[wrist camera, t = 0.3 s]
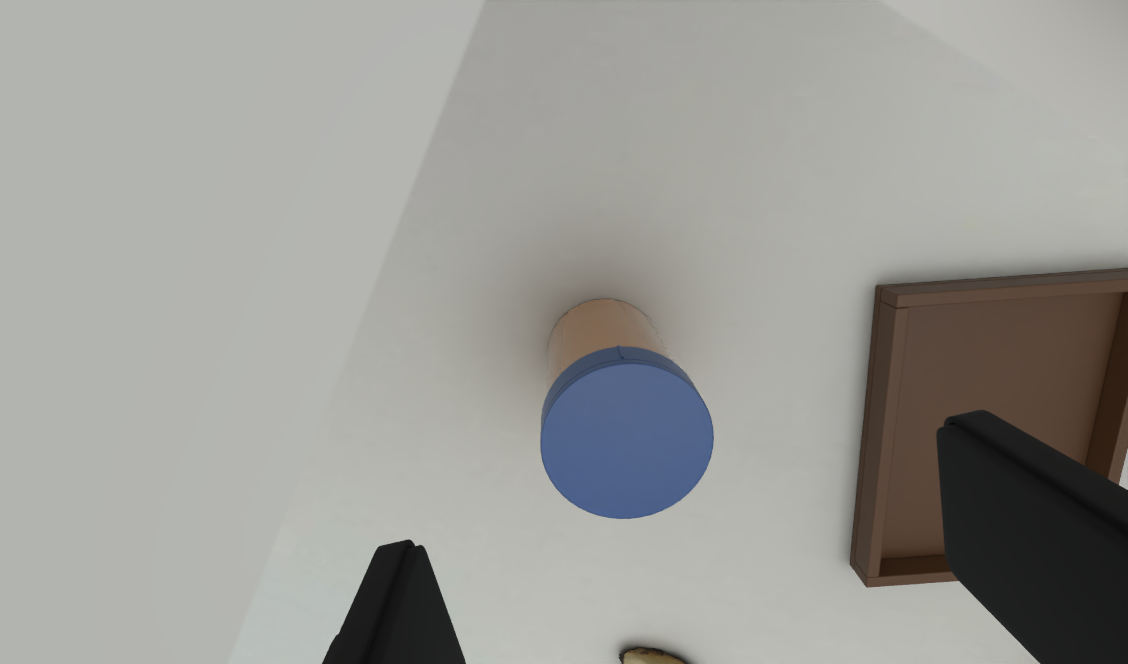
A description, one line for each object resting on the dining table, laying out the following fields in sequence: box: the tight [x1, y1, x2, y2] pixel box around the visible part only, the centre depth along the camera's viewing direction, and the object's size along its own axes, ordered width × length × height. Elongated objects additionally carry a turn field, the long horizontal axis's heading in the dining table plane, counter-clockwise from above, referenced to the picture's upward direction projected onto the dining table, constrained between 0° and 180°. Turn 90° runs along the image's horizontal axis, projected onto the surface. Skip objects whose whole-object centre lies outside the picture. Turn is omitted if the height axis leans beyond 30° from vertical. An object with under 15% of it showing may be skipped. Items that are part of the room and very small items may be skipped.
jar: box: [547, 299, 674, 394], centre depth 27 cm, size 6×6×10 cm
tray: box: [850, 268, 1128, 587], centre depth 33 cm, size 17×13×2 cm
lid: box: [541, 345, 714, 519], centre depth 23 cm, size 6×6×2 cm
